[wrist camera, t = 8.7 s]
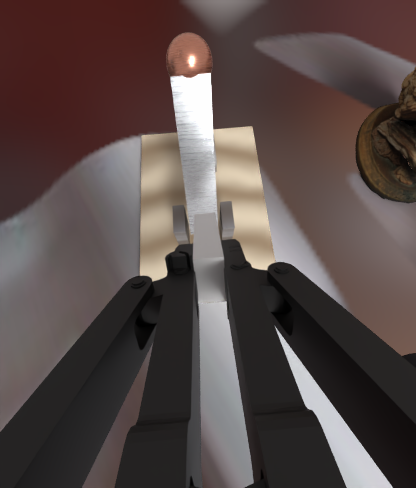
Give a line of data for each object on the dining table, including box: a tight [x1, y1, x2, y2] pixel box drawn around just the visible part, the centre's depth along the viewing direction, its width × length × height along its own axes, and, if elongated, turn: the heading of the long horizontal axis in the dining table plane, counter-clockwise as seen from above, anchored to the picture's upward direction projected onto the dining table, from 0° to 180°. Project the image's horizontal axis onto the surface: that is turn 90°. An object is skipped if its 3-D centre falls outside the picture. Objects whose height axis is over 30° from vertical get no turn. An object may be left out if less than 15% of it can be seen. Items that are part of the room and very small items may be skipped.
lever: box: [166, 33, 218, 235], centre depth 22 cm, size 4×4×17 cm
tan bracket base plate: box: [140, 126, 275, 282], centre depth 29 cm, size 22×16×7 cm
